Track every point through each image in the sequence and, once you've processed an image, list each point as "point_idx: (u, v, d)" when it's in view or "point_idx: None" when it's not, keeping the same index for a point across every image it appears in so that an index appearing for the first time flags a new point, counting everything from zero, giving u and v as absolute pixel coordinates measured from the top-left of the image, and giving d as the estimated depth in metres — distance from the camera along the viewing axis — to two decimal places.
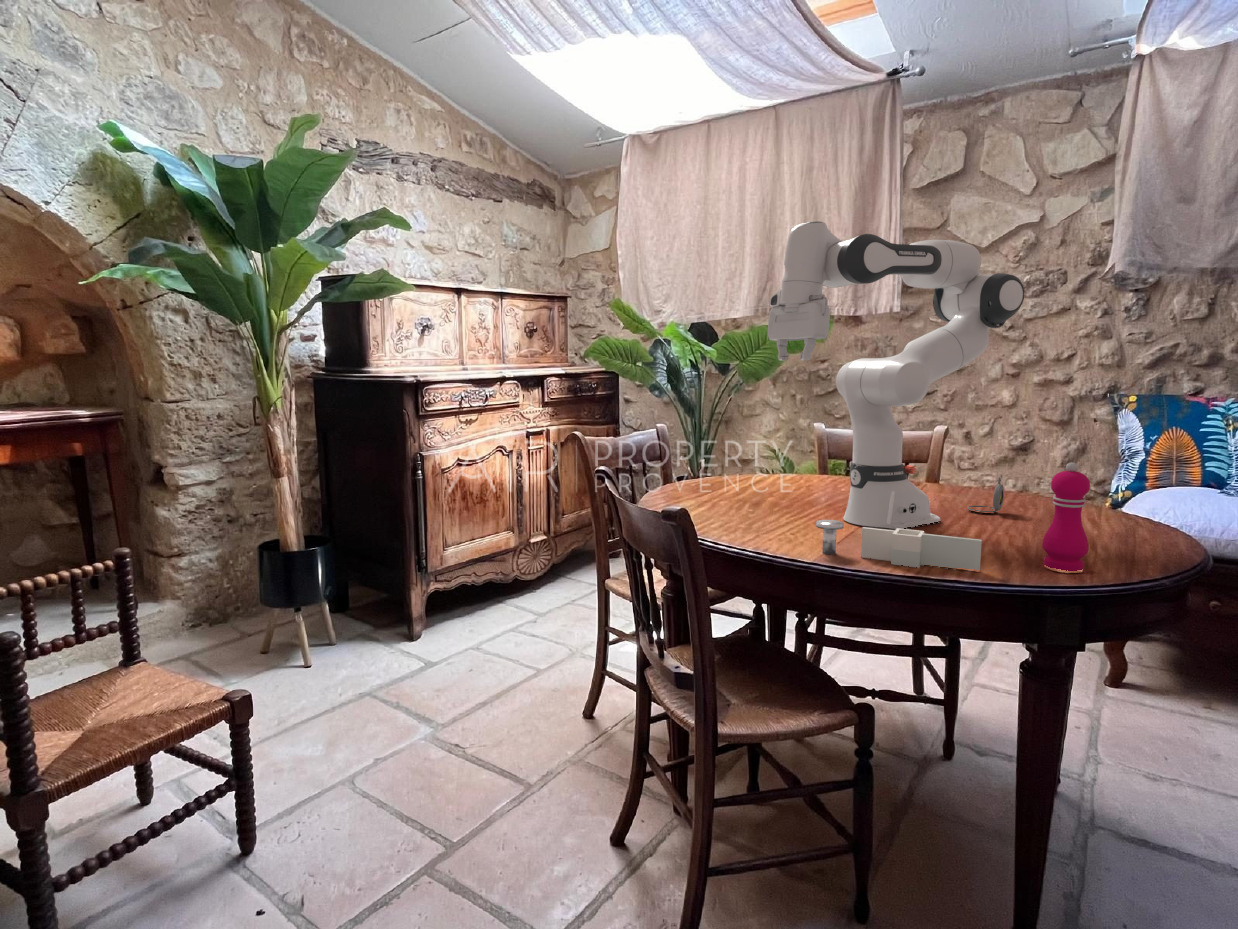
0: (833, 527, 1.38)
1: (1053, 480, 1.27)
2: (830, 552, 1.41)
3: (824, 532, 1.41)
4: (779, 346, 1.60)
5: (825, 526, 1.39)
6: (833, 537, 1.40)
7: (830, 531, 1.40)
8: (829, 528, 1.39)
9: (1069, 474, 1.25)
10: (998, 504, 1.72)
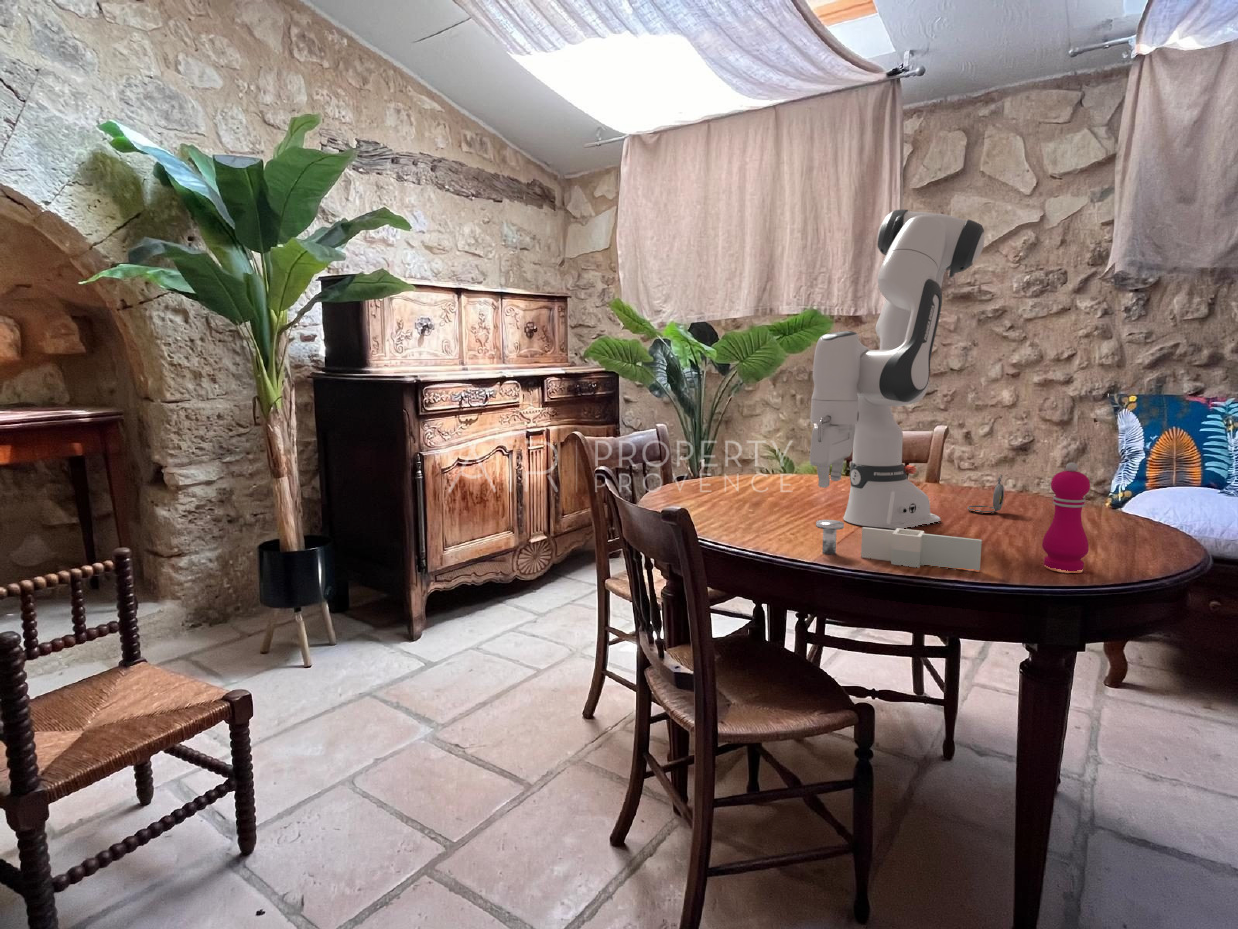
0: (833, 527, 1.38)
1: (1053, 480, 1.27)
2: (830, 552, 1.41)
3: (824, 532, 1.41)
4: (833, 464, 1.44)
5: (825, 526, 1.39)
6: (833, 537, 1.40)
7: (830, 531, 1.40)
8: (829, 528, 1.39)
9: (1069, 474, 1.25)
10: (998, 504, 1.72)
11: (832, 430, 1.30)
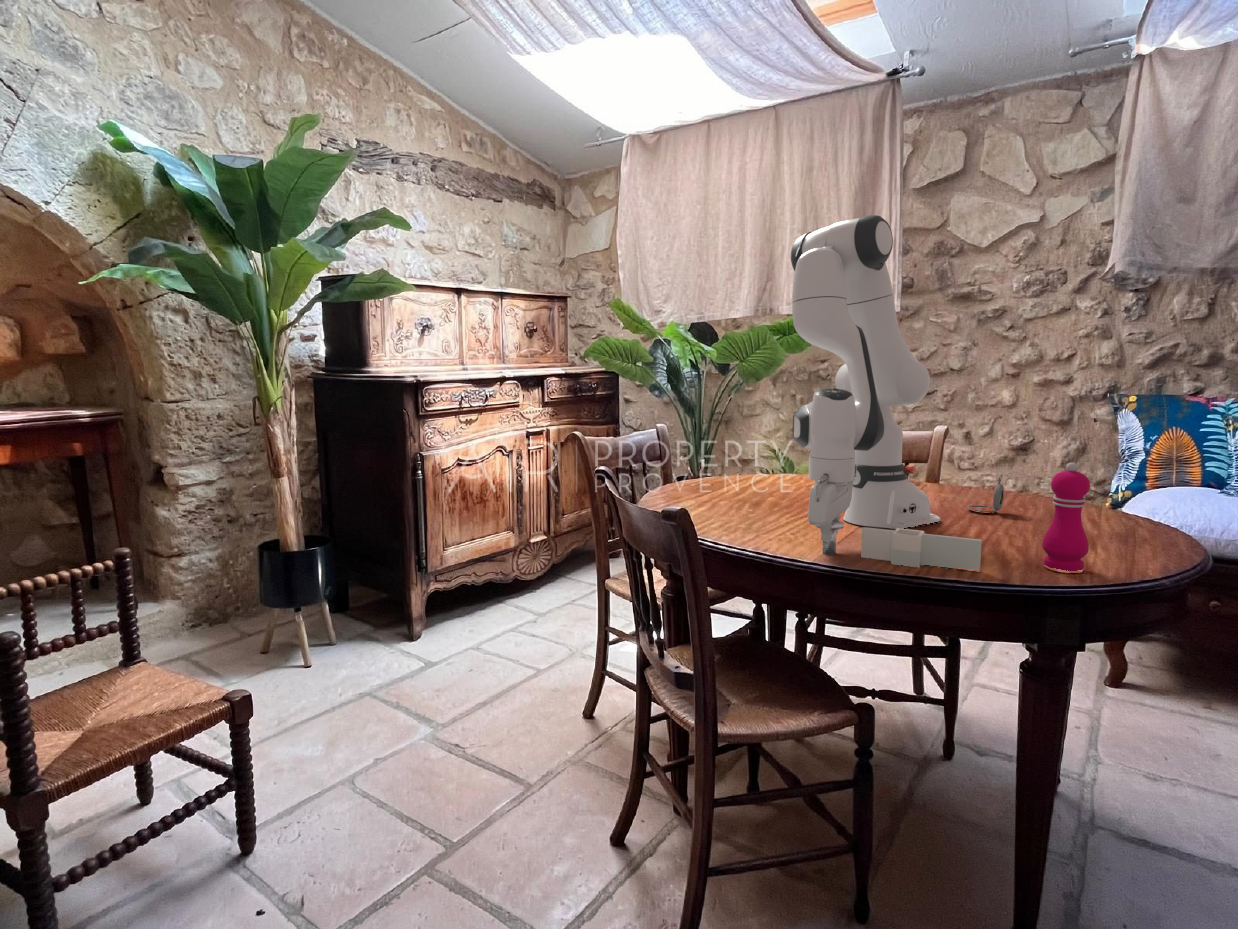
0: (833, 527, 1.38)
1: (1053, 480, 1.27)
2: (830, 552, 1.41)
3: None
4: None
5: None
6: (833, 537, 1.40)
7: None
8: None
9: (1069, 474, 1.25)
10: (998, 504, 1.72)
11: (830, 490, 1.32)
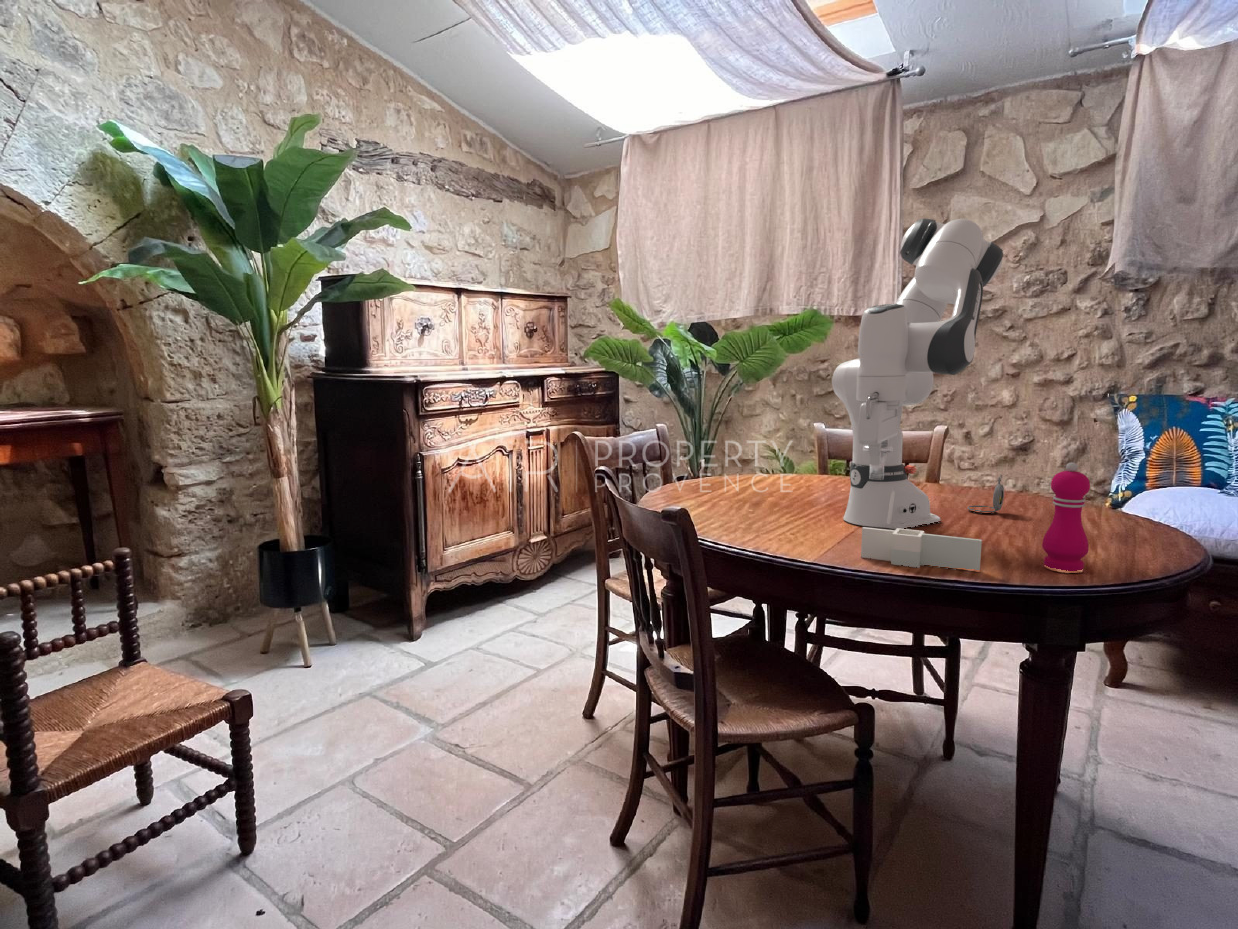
0: (882, 449, 1.32)
1: (1053, 480, 1.27)
2: (878, 477, 1.34)
3: None
4: None
5: None
6: (881, 461, 1.33)
7: None
8: None
9: (1069, 474, 1.25)
10: (998, 504, 1.72)
11: (881, 406, 1.26)
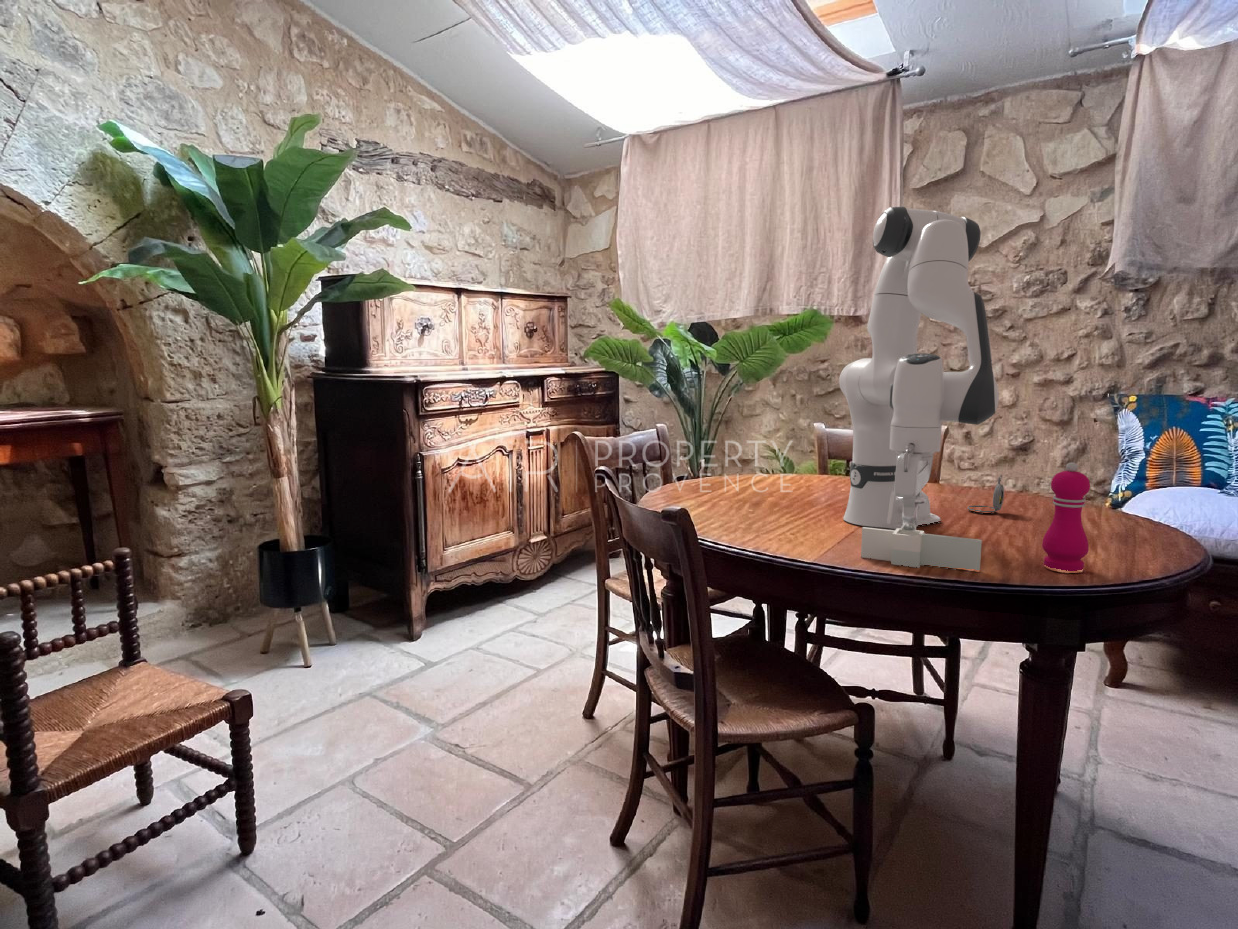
0: (916, 501, 1.30)
1: (1053, 480, 1.27)
2: (911, 528, 1.32)
3: None
4: None
5: None
6: None
7: None
8: None
9: (1069, 474, 1.25)
10: (998, 504, 1.72)
11: (918, 459, 1.24)
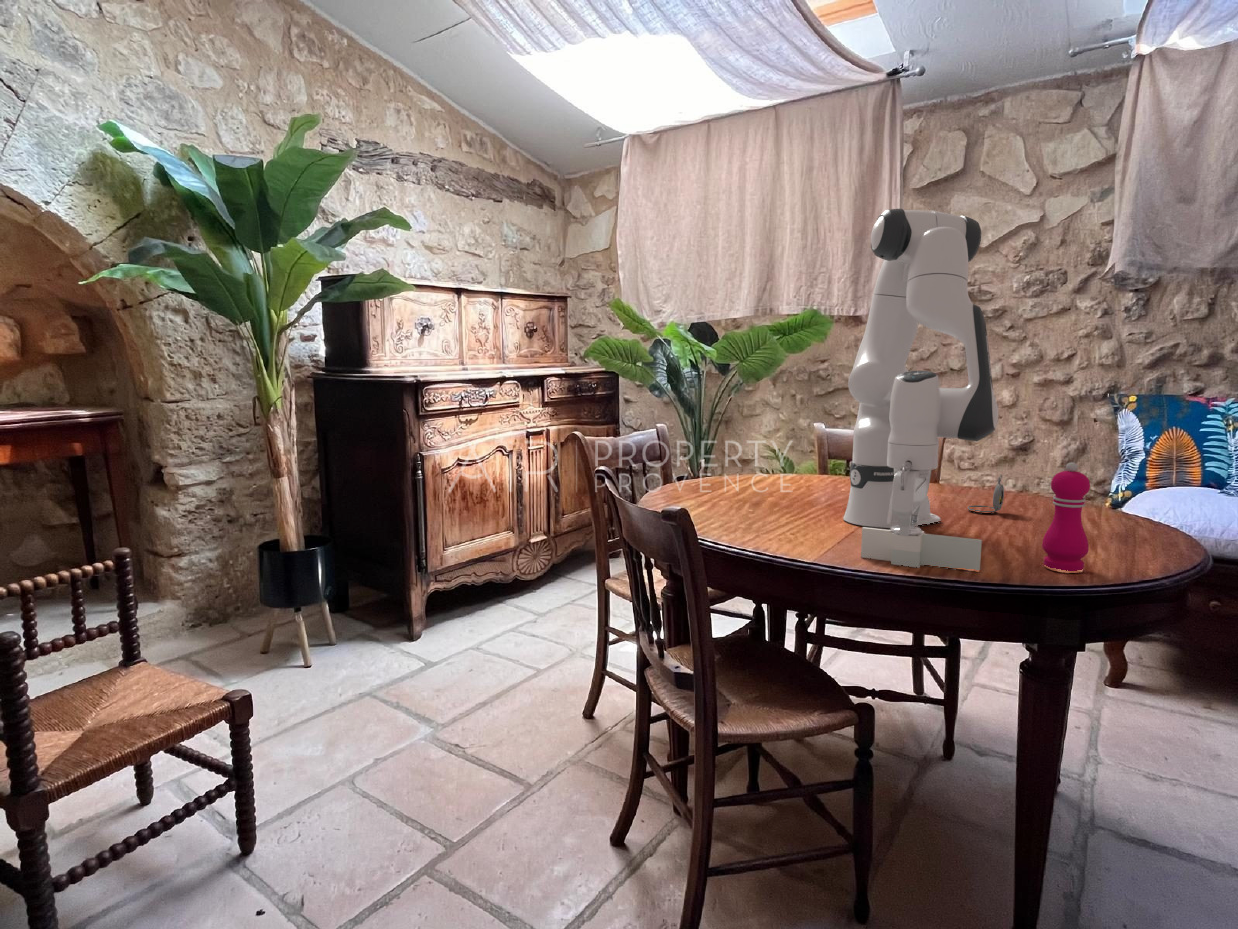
0: (911, 533, 1.31)
1: (1053, 480, 1.27)
2: None
3: None
4: None
5: None
6: None
7: None
8: None
9: (1069, 474, 1.25)
10: (998, 504, 1.72)
11: (915, 477, 1.24)
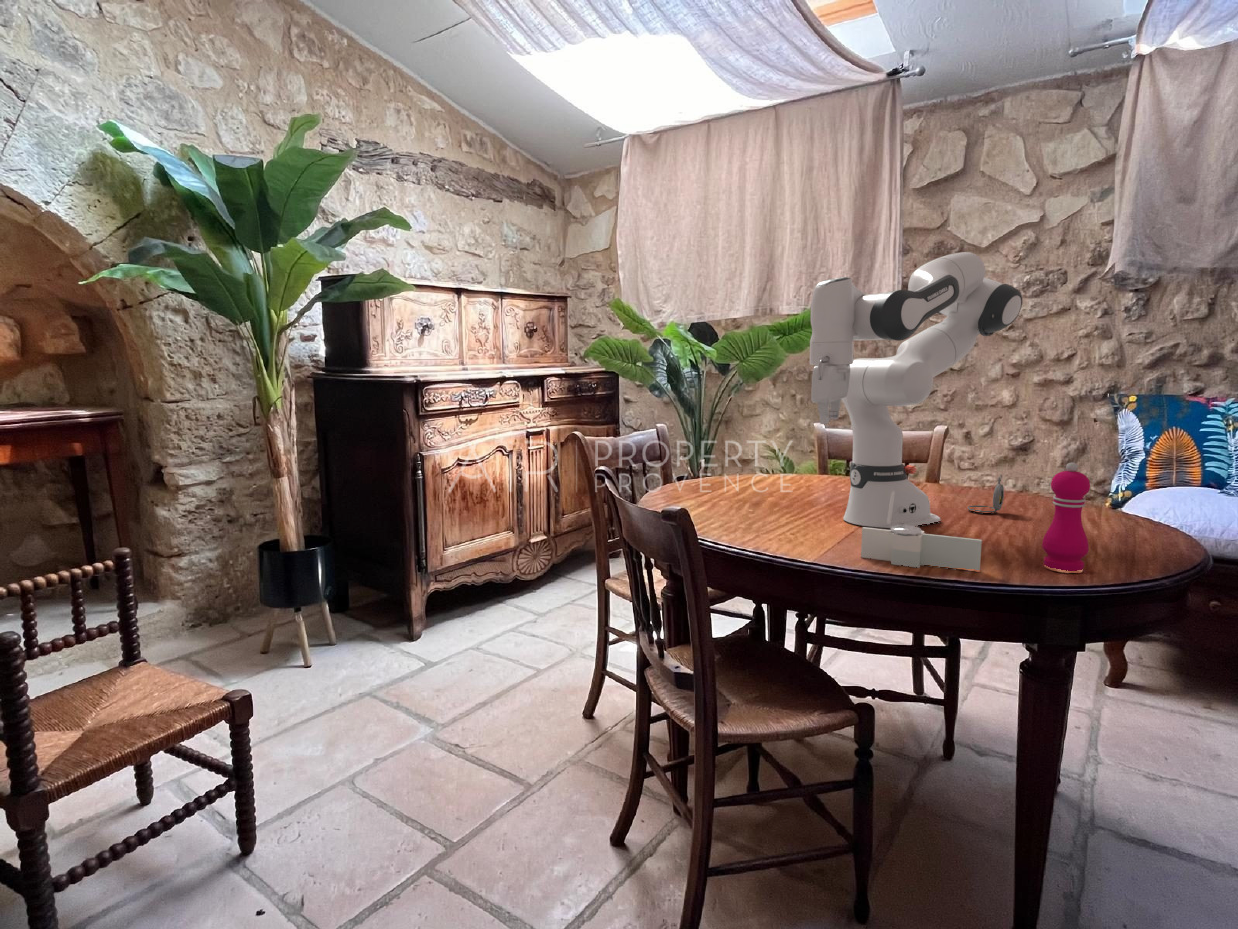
0: (911, 533, 1.31)
1: (1053, 480, 1.27)
2: None
3: None
4: (831, 405, 1.54)
5: (902, 532, 1.31)
6: None
7: None
8: (907, 534, 1.31)
9: (1069, 474, 1.25)
10: (998, 504, 1.72)
11: (831, 369, 1.40)
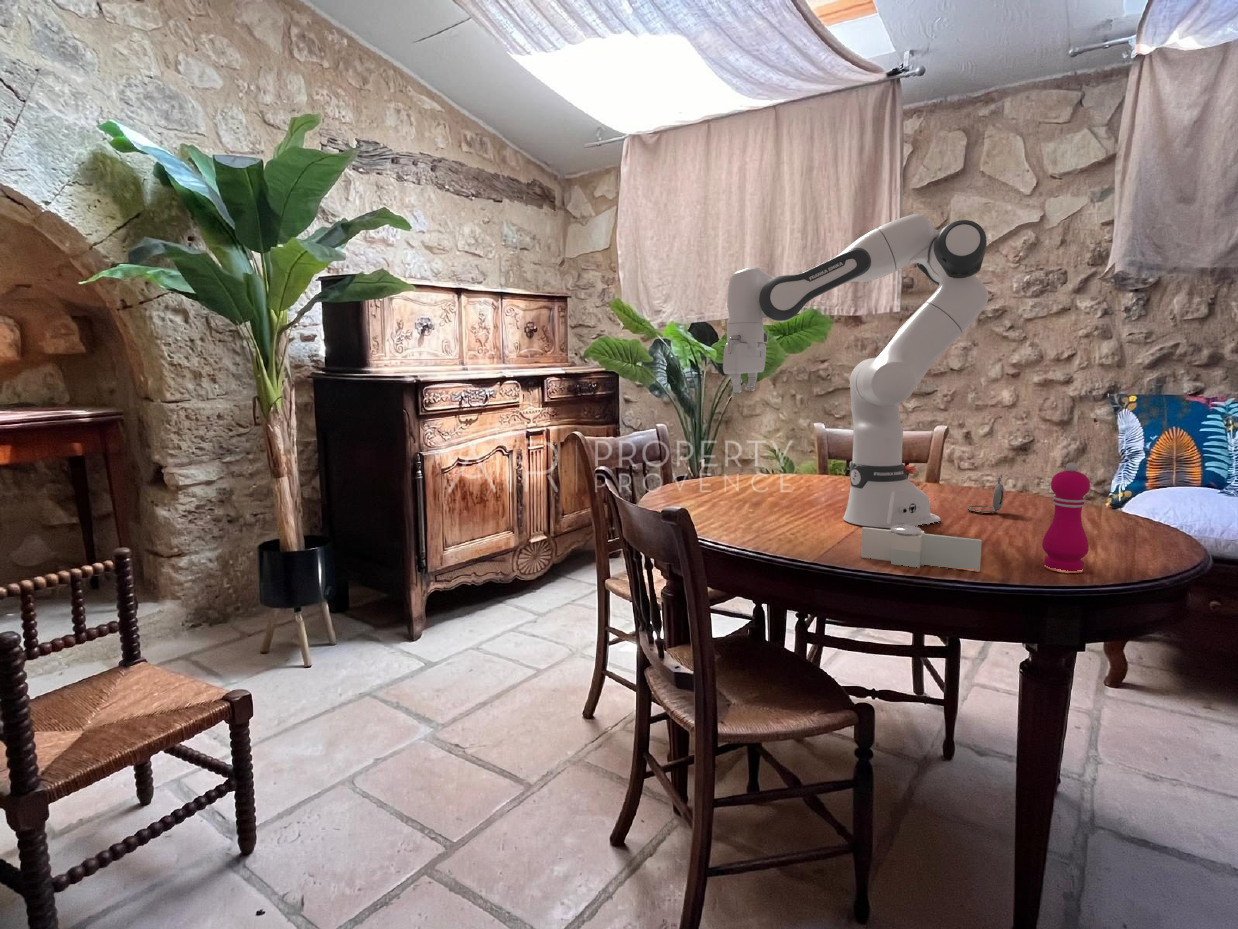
0: (911, 533, 1.31)
1: (1053, 480, 1.27)
2: None
3: None
4: (749, 378, 1.80)
5: (902, 532, 1.31)
6: None
7: None
8: (907, 534, 1.31)
9: (1069, 474, 1.25)
10: (998, 504, 1.72)
11: (740, 345, 1.66)
